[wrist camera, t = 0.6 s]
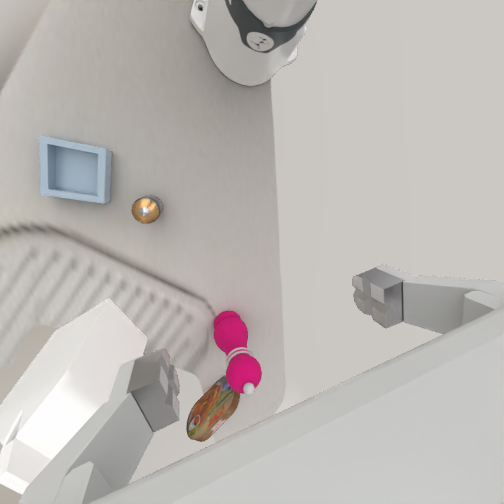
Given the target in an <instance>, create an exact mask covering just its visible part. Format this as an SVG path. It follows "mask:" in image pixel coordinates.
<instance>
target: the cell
mask: <svg viewBox="0 0 504 504" xmlns="http://www.w3.org/2000/svg"><path fill="white" fill-rule="evenodd" d="M162 211H163V204H162V202H161V201H160V199H158V198H157V197H155V196H146V197H143V198H140V199H138V200H136V201H135V202H134V204H133V206H132V214H133V216H134V218H135V219H136V220H137V221H139V222H141V223H145V224H148V223H152V222H154V221H155V220H157V218H158V217H159V216H160V214H161V213H162Z"/></svg>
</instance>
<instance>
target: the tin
mask: <svg viewBox="0 0 504 504" xmlns="http://www.w3.org/2000/svg"><path fill="white" fill-rule="evenodd" d="M239 399H240V393H238V392H236V391H234V390H233V389H232V388H231V387H230V386H229V384H228V382H227V378H226V377H224V378H221V379H220V380H218V381H217V382H216V383H215V384H214V385H213V386H212V387H211V388H210V389H209V390H208V391H207V392H206V393H205V394H204V395H203V396H202V397H201V398H200V399H199V400H198V401H197V402H196V403H195V405H194V406H193V408H192V410H191V412H190V414H189V417H188V420H187V434H188V436H189V438H190V439H193V440H197V441H200V442H202V441H205V440H207V439H208V438H210V436H211V435H212V434H214V432H215V431H216V430H217V429H218V428H219V427H220V426H221V425H222V424H223V423H224V422H225V421H226V420H227V419H228V418H229V417H230V416H231V415H232V414H233V413H234V412H235V410H236V408H237V406H238V403H239Z"/></svg>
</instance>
